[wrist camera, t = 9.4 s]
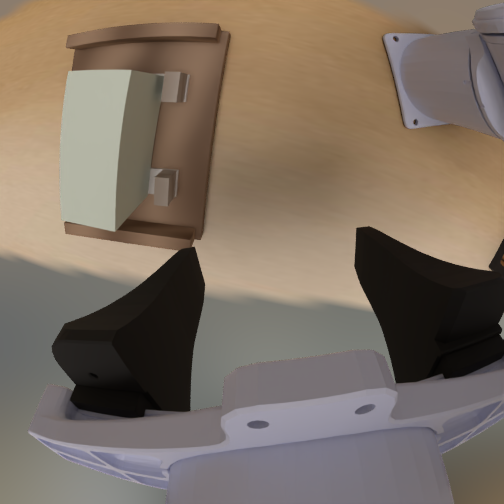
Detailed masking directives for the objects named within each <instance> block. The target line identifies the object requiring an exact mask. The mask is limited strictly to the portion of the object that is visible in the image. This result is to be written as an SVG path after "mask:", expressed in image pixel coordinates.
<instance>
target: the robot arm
mask: <svg viewBox="0 0 504 504" xmlns="http://www.w3.org/2000/svg"><path fill="white" fill-rule="evenodd" d="M472 23H473V25H474V26H475V28H476V29H471V30H464V31H457V32H450V33H445V34H439V35H433V34H414V33H388V34H385V35H384V36H383V41H384V44H385V47H386V50H387V54H388V57H389V61H390V64H391V68H392V72H393V75H394V79H395V83H396V88H397V92H398V97H399V101H400V106H401V111H402V116H403V122H404V125H405V127H406V128H408V129H415V128H422V127H429V126H436V125H444V124H454V125H458V126H462V127H465V128H468V129H472V130H475V131H478V132H481V133H484V134H487V135H490V136H493V137H496V138H499V139H501V140H503V141H504V3H499V4H494V5H491V6H487V7H483V8H480V9H478V10H476V13H475V18H474V19H473V21H472ZM393 37H395V38H396V40H397V41H396V42H395V41H394V40H393ZM414 120H416V124H415V125H414V124H413V121H414ZM354 267H355V270H356V273H357V276H358V279H359V281H360V284H361V286H362V288H363V290H364V292H365V294H366V296H367V298H368V300H369V302H370V304H371V306H372V308H373V310H374V312H375V314H376V316H377V318H378V321H379V323H380V326H381V328H382V331H383V334H384V337H385V341H386V344H387V347H388V351H389V355H390V358H391V362H392V367H393V371H394V376H395V381H396V383H394V381H393V378H392V375H391V372H390V370H389V368H388V365H387V362H386V359H385V357H384V356H383V355H381V354H379V353H377V352H376V351H374V350H349V351H343V352H337V353H331V354H325V355H319V356H311V357H304V358H296V359H288V360H279V361H269V362H259V363H254V364H250V365H246V366H241V367H238V368H237V369H235V370H234V371H233V372H231V373H230V374H229V375H227V376H226V377H225V378H224V386H223V399H222V405H221V406H216V407H211V408H206V409H200V410H194V411H190V392H191V370H192V358H193V348H194V342H195V338H196V333H197V329H198V325H199V320H200V316H201V311H202V307H203V302H204V292H205V282H204V279H203V275H202V271H201V268H200V264H199V261H198V257H197V253H196V249H195V247H190V248H183V249H181V250H179V251H178V252H177V253H176V254H175V255H173V256H172V257H171V258H170V259H169V260H168V261H167V262H166V263H165V264H164V265H162V266H161V267H160V268H159V269H158V270H157V271H156V272H155V273H153V274H152V275H151V276H150V277H149V278H147V279H146V280H145V281H144V282H143V283H141V284H140V285H139V286H138V287H136V288H135V289H133V290H132V291H131V292H129V293H128V294H126V295H125V296H123V297H122V298H120V299H118V300H116V301H115V302H113V303H111V304H110V305H108V306H106V307H104V308H102V309H100V310H98V311H96V312H94V313H91V314H89V315H87V316H85V317H82V318H79V319H76V320H74V321H71V322H68V323H65V324H64V326H63V328H62V329H61V331H60V333H59V334H58V336H57V338H56V340H55V341H54V343H53V345H52V352H53V355H54V357H55V360H56V361H57V362H58V364H59V365H60V366H61V368H62V369H63V370H64V371H65V373H66V374H67V375H68V376H69V377H70V378H71V380H72V381H73V382H74V383H75V384H76V386H75V388H74V391H72V390H71V389H69V388H67V387H63V386H58V385H53V384H48V385H47V387H46V389H45V391H44V393H43V395H42V397H41V400H40V402H39V405H38V407H37V409H36V411H35V414H34V416H33V419H32V421H31V423H30V426H29V429H28V432H29V434H31V435H32V436H33V437H35V438H36V439H37V440H39V441H40V442H41V443H43V444H44V445H45V446H47V447H48V448H50V449H51V450H52V451H54V452H55V453H57V454H58V455H60V456H62V457H63V458H64V459H66V460H68V461H71V462H74V463H77V464H79V465H82V466H85V467H88V468H90V469H93V470H97V471H99V472H103V473H105V474H108V475H111V476H115V477H118V478H121V479H125V480H128V481H132V482H135V483H139V484H143V485H148V486H152V487H156V488H160V489H165V490H167V495H166V503H165V504H454V500H453V496H452V492H451V488H450V484H449V480H448V476H447V473H446V470H445V466H444V462H443V459H442V456H441V454H443V453H445V452H447V451H449V450H451V449H453V448H455V447H456V446H458V445H460V444H462V443H464V442H466V441H467V440H469V439H471V438H472V437H474V436H476V435H478V434H479V433H481V432H482V431H484V430H486V429H487V428H489V427H490V426H492V425H493V424H495V423H497V422H498V421H500V420H501V419H503V418H504V340H503V339H502V337H501V336H500V335H499V334H501V332H502V328H501V327H500V325H499V324H498V323H499V321H500V319H501V317H502V315H503V313H504V277H503V276H502V275H501V274H500V273H499V272H495V271H486V270H478V269H473V268H468V267H463V266H459V265H455V264H452V263H449V262H445V261H442V260H439V259H436V258H434V257H431V256H429V255H426V254H424V253H421V252H419V251H417V250H415V249H413V248H411V247H409V246H407V245H405V244H403V243H401V242H399V241H397V240H395V239H393V238H392V237H390V236H388V235H386V234H384V233H382V232H380V231H378V230H376V229H374V228H372V227H369V226H368V227H359V228H356V249H355V265H354Z"/></svg>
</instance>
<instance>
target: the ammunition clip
mask: <svg viewBox="0 0 504 504" xmlns="http://www.w3.org/2000/svg"><path fill="white" fill-rule="evenodd" d="M489 268H490V269H491V270H492V271H495V272H499V273H500V274H501V275H502V276H503V277H504V239H503V241H502V243H501V245H500V247H499V249H498V251H497V252H496V254H495V256H494V258H493V260H492V261H491V263H490V265H489Z"/></svg>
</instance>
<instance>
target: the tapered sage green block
mask: <svg viewBox="0 0 504 504" xmlns="http://www.w3.org/2000/svg"><path fill="white" fill-rule="evenodd" d="M163 82H164V76H160V75H156V74H151V73H146V72H140V71H135V70H80V71H68V77H67V83H66V89H65V96H64V104H63V113H62V124H61V139H60V205H61V220H63V221H67V222H72V223H76V224H81V225H86V226H90V227H95V228H100V229H104V230H109V231H114V232H116V230H117V229H118V228H119V227H120V226H121V225H122V223H123V222H124V221H125V220H126V219H127V218H128V217H129V216H130V215H131V213H132V212H133V211H134V210H135V209H136V208H137V207H138V206H139V205H140V204H141V203H142V201H143V200H144V199H145V198H146V197H147V196H148V187H149V178H150V169H151V161H152V153H153V146H154V139H155V133H156V127H157V121H158V115H159V109H160V104H161V97H162V89H163Z"/></svg>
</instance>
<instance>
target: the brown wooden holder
mask: <svg viewBox="0 0 504 504" xmlns="http://www.w3.org/2000/svg"><path fill="white" fill-rule="evenodd" d="M229 40H230V33H229V32H228V31H221V28H220V26H219V24H214V23H151V24H137V25H127V26H119V27H111V28H104V29H98V30H93V31H87V32H82V33H77V34H73V35H69V36H68V38H67V43H66V48H70V49H75V53H74V59H73V66H72V71H80V70H135V71H140V72H146V73H151V74H156V75H160V76H164V82H163V89H162V97H161V104H160V109H159V115H158V121H157V127H156V133H155V139H154V146H153V153H152V161H151V169H150V178H149V187H148V196H147V197H146V198H145V199H144V200H143V201H142V203H141V204H140V205H139V206H138V207H137V208H136V209H135V210H134V211H133V212H132V213H131V215H130V216H129V217H128V218H127V219H126V220H125V221H124V222H123V223H122V225H121V226H120V227H119V228H118V229H117V230H116V232H114V231H109V230H104V229H100V228H95V227H90V226H86V225H81V224H76V223H72V222H67V221H66V222H65V223H64V226H65V232H66V234H71V235H77V236H84V237H91V238H97V239H104V240H111V241H117V242H124V243H131V244H138V245H145V246H151V247H158V248H165V249H172V250H181V249H183V248H190V247H192V244H193V242H194V239H197V240H201V237H202V234H203V226H204V215H205V205H206V196H207V187H208V178H209V169H210V161H211V153H212V145H213V138H214V131H215V124H216V117H217V110H218V103H219V97H220V91H221V85H222V79H223V73H224V67H225V61H226V56H227V50H228V45H229Z"/></svg>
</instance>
